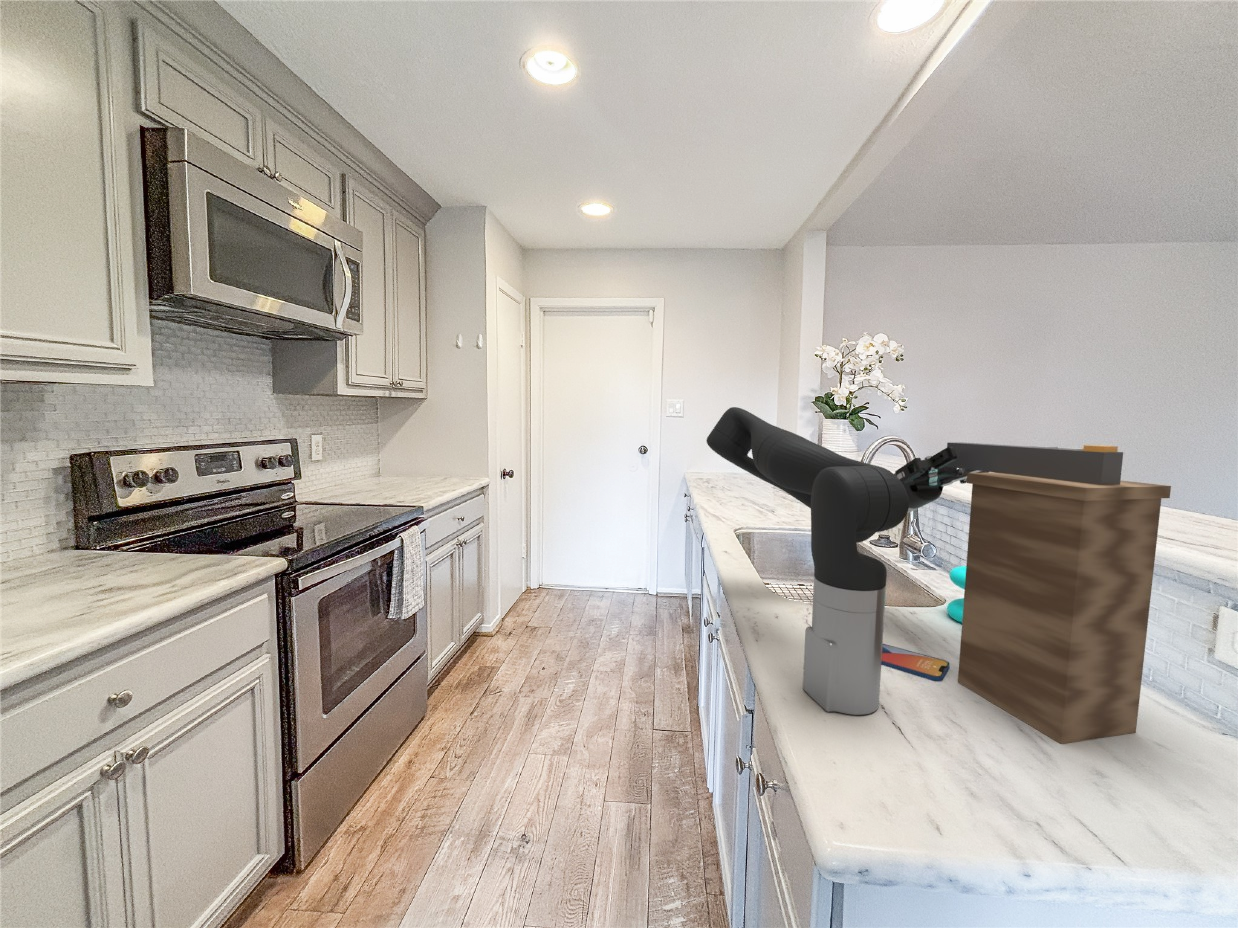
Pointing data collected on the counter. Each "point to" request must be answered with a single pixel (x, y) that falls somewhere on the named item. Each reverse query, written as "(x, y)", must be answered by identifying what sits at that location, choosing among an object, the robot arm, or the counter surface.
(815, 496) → the robot arm
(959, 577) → the turquoise spool
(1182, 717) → the counter surface
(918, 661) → the smartphone
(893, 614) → the counter surface
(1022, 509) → the wooden lidded box
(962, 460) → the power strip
